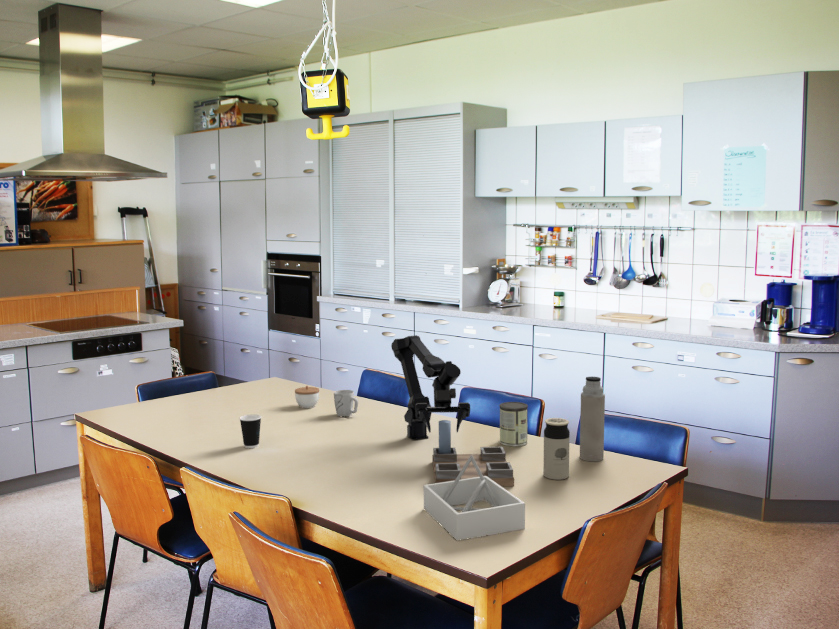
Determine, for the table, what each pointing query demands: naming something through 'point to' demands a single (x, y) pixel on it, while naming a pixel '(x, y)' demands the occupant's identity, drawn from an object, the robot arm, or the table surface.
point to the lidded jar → (307, 396)
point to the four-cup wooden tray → (488, 463)
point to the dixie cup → (250, 430)
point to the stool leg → (444, 437)
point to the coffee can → (513, 423)
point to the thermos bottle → (592, 420)
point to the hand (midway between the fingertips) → (443, 431)
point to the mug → (345, 402)
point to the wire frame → (476, 492)
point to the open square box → (477, 521)
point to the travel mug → (556, 449)
